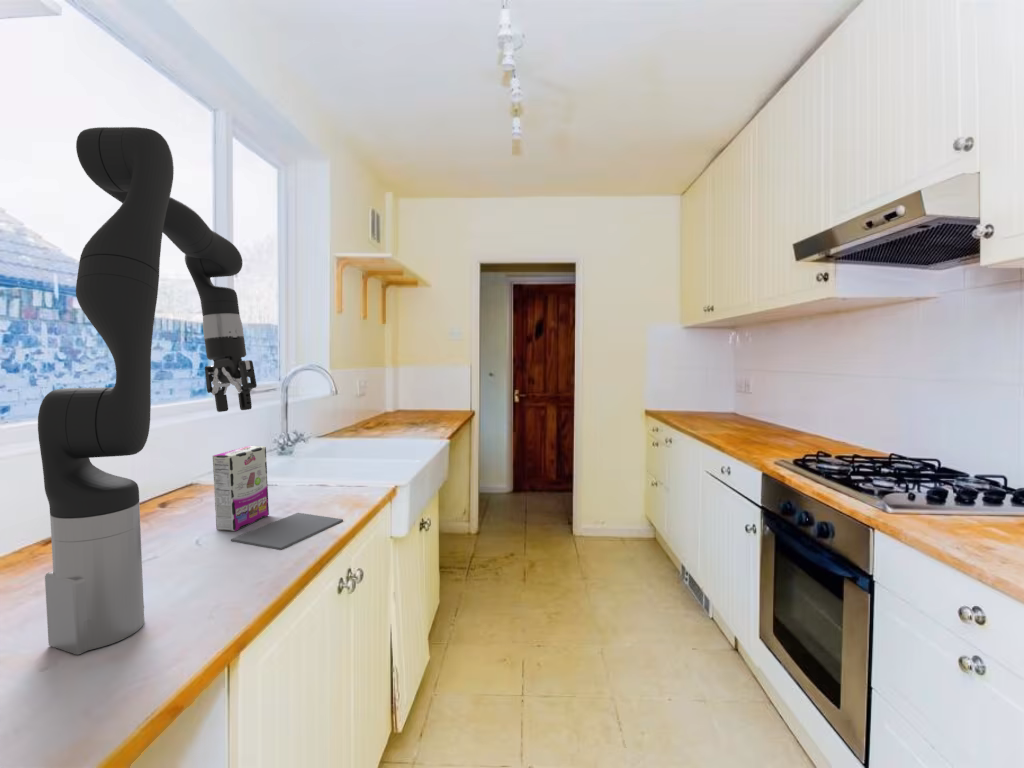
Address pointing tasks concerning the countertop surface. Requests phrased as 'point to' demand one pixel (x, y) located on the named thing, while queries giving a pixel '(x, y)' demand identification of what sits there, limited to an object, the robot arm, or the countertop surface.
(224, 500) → the candy bar box
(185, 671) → the countertop surface
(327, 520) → the mat
